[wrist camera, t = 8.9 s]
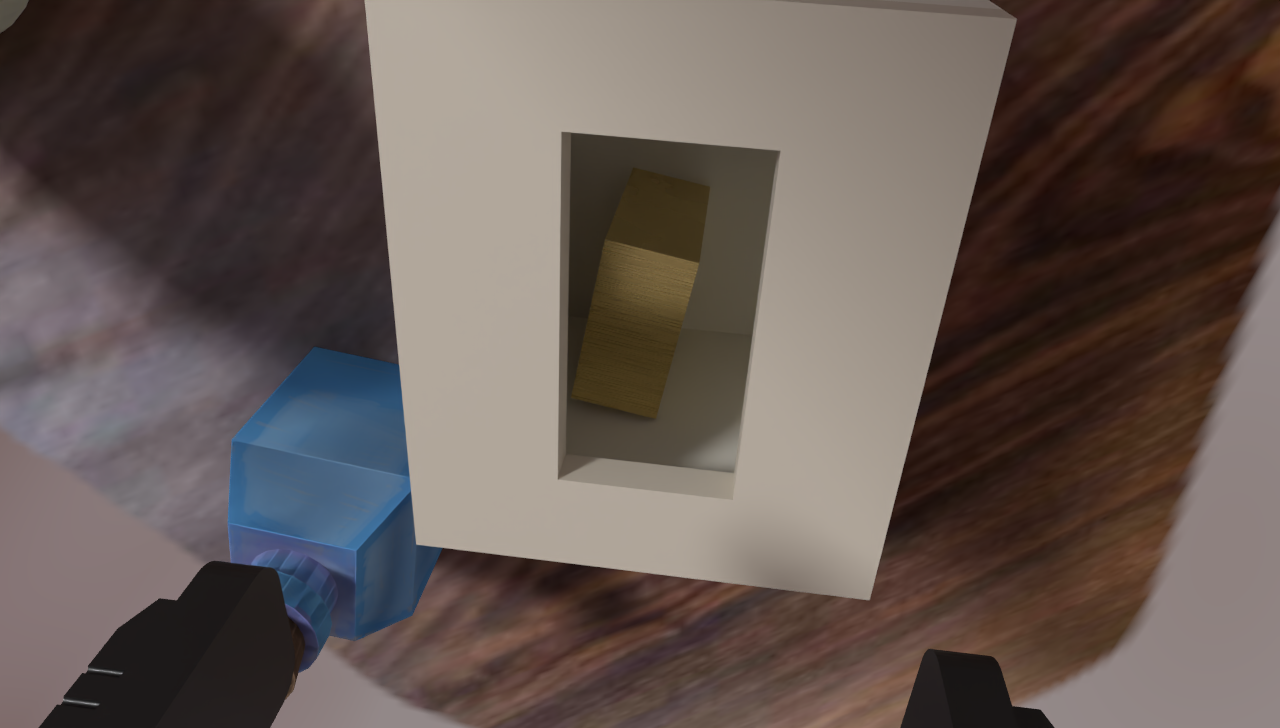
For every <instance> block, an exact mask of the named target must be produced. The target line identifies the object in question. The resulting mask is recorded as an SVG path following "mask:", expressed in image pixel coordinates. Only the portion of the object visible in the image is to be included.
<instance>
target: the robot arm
mask: <svg viewBox="0 0 1280 728" xmlns="http://www.w3.org/2000/svg"><path fill="white" fill-rule="evenodd" d="M294 665H295V650H294V644H293V640H292V635H291V630H290V625H289V621H288V616H287V611H286V606H285V601H284V597H283V592H282V587H281V582H280V578H279V575H278V573H277V571H276V570H275V569H273V568H271V567H263V566H254V565H246V564H238V563H229V562H221V561H211V562H209V563H207V564H206V565H205V566H203V567H202V568H201V569H200V571H199V572H198V573H197V574H196V576H195V577H194V578H193V580H192V581H191V582H190V584H189V585H188V586H187V588H186V589H185V590H184V592H183V593H182V594H181V596H180V597H179V598H178V600H177V601H175V600H168V599H158V600H157V601H155V602H154V603H153V604H151V605H150V606H148V607H147V608H146V609H145V610H143V611H141V612H140V613H139V614H137V615H136V616H135V617H133V618H132V619H130V620H129V621H128V622H126V623H125V624H123V625H122V626H121V627H119V628H118V629H117V630H116V631H115V633H114V634H113V635H112V636H111V638H110V639H109V640H108V642H107V643H106V644H105V645H104V647H103V648H102V649H101V651H99V653H98V654H97V655H96V657H95V658H94V659H93V660H92V662H91V663H90V664H89V665H88V671H87V672H86V673H85V674H84V673H82V674H81V675H80V677H79V678H78V679H77V681H76V682H75V683H74V684H73V685H72V687H71V688H70V689H69V690H68V692H67V693H66V694H65V695H64V700H63V702H62V704H61V705H56V707H55V708H54V709H53V710H52V712H51V713H50V714H49V716H48V717H47V718H46V719H45V720H44V722H43V723H42V724H41V725H40V727H39V728H270V727H271V725H272V723H273V721H274V719H275V718H276V716H277V713H278V712H279V710H280V708H281V706H282V705H283V702H284V700H285V698H286V696H287V694H288V691H289V688H290V685H291V681H292V677H293V672H294ZM901 728H1054V727H1053V725H1052V724H1051V723H1050V721H1049V720H1048V719H1047V718H1046V716H1045V715H1044V714H1043V712H1042V711H1041V710H1039V709H1031V708H1023V707H1015V706H1012V704H1011V701H1010V698H1009V694H1008V691H1007V688H1006V684H1005V681H1004V678H1003V674H1002V671H1001V668H1000V666H999V664H998V662H997V661H996V659H995V658H993V657H991V656H984V655H976V654H968V653H959V652H951V651H943V650H934V649H928V650H927V651H926V652H925V654H924V656H923V658H922V661H921V664H920V668H919V671H918V674H917V677H916V680H915V683H914V687H913V690H912V693H911V696H910V699H909V702H908V705H907V709H906V712H905V715H904V718H903V721H902V724H901Z"/></svg>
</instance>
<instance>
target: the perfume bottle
mask: <svg viewBox="0 0 1280 728" xmlns="http://www.w3.org/2000/svg"><path fill="white" fill-rule="evenodd" d="M228 532H229V544H230V556H231V563H238V564H246V565H254V566H263V567H271V568H273V569H275V570H276V571H277V573H278V575H279V578H280V582H281V587H282V592H283V597H284V601H285V606H286V611H287V616H288V621H289V625H290V630H291V635H292V640H293V644H294V650H295V665H294V672H293V677H292V681H291V685H290V688H289V691H288V694H287V696H286V698H287V697H288V696H289V695H290V694H291V693H292V691H293V690H294V686H295V682H296V679H297V676H298V673H299V672H302V671H304V670H306V669H308V668H309V667H310V666H311V665H312V663H313V662H314V661H315V660H316V659H317V657H318V655H319V653H320V651H321V649H322V648H323V646H324V644H325V642H326V640H327V638H328V637H329V636H334V637H338V638H343V639H347V640H352V641H356V640H358V639H361V638H363V637H365V636H367V635H370V634H372V633H374V632H376V631H379V630H381V629H383V628H385V627H388V626H390V625H392V624H394V623H396V622H399V621H401V620H403V619H405V618H408V617H410V616H412V615H413V613H414V610H415V608H416V606H417V604H418V601H419V599H420V597H421V595H422V593H423V590H424V588H425V586H426V584H427V582H428V579H429V577H430V575H431V573H432V570H433V568H434V566H435V564H436V562H437V559H438V557H439V555H440V553H441V551H442V548H441V547H432V546H424V545H416V537H415V527H414V516H413V505H412V495H411V484H410V474H409V463H408V452H407V442H406V431H405V421H404V410H403V400H402V389H401V378H400V368H399V365H398V364H394V363H389V362H384V361H379V360H375V359H370V358H365V357H361V356H356V355H351V354H347V353H342V352H337V351H333V350H328V349H323V348H319V347H314V348H313V349H312V350H311V351H310V352H309V353H308V354H307V356H306V357H305V358H304V359H303V360H302V361H301V362H300V363H299V365H298V366H297V367H296V368H295V369H294V370H293V371H292V372H291V373H290V375H289V376H288V377H287V378H286V379H285V380H284V381H283V382H282V384H281V385H280V386H279V387H278V388H277V389H276V390H275V391H274V393H273V394H272V395H271V396H270V397H269V398H268V399H267V400H266V402H265V403H264V404H263V405H262V406H261V407H260V408H259V409H258V410H257V412H256V413H255V414H254V415H253V416H252V417H251V418H250V419H249V421H248V422H247V423H246V424H245V425H244V426H243V427H242V428H241V430H240V431H239V432H238V433H237V434H236V435H235V436H234V437H233V439H232V446H231V466H230V487H229V508H228ZM286 698H285V699H286Z"/></svg>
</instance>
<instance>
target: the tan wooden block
mask: <svg viewBox="0 0 1280 728" xmlns="http://www.w3.org/2000/svg"><path fill="white" fill-rule="evenodd" d="M709 193H710V187H709V186H705V185H701V184H697V183H693V182H689V181H685V180H681V179H677V178H673V177H670V176H666V175H662V174H658V173H654V172H650V171H646V170H642V169H638V168H634V167H633V169H632V172H631V174H630V177H629V180H628V182H627V185H626V187H625V190H624V192H623V195H622V197H621V200H620V202H619V205H618V208H617V210H616V213H615V215H614V218H613V220H612V223H611V225H610V228H609V230H608V233H607V235H606V238H605V242H604V246H603V251H602V256H601V260H600V265H599V269H598V274H597V279H596V283H595V288H594V293H593V297H592V302H591V307H590V311H589V316H588V321H587V325H586V330H585V335H584V339H583V344H582V348H581V353H580V358H579V362H578V367H577V372H576V376H575V381H574V386H573V390H572V395H571V398H574V399H578V400H582V401H586V402H590V403H594V404H598V405H602V406H606V407H610V408H614V409H618V410H622V411H626V412H630V413H634V414H638V415H642V416H646V417H650V418H654V419H656V417H657V413H658V410H659V406H660V403H661V399H662V395H663V392H664V388H665V385H666V381H667V377H668V374H669V370H670V367H671V363H672V360H673V356H674V352H675V349H676V345H677V342H678V338H679V334H680V331H681V327H682V324H683V320H684V316H685V313H686V309H687V306H688V302H689V299H690V295H691V291H692V288H693V284H694V281H695V277H696V273H697V270H698V266H699V262H700V255H701V249H702V242H703V235H704V228H705V221H706V214H707V207H708V200H709Z"/></svg>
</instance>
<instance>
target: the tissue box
mask: <svg viewBox="0 0 1280 728" xmlns="http://www.w3.org/2000/svg"><path fill="white" fill-rule="evenodd" d="M365 8H366V18H367V29H368V40H369V50H370V61H371V71H372V82H373V93H374V103H375V114H376V124H377V135H378V146H379V156H380V167H381V177H382V188H383V198H384V209H385V220H386V230H387V241H388V251H389V262H390V273H391V283H392V294H393V304H394V315H395V325H396V336H397V347H398V357H399V368H400V378H401V389H402V400H403V410H404V421H405V431H406V442H407V452H408V463H409V474H410V484H411V495H412V505H413V516H414V527H415V537H416V545H424V546H432V547H441V548H449V549H457V550H465V551H473V552H481V553H489V554H498V555H506V556H514V557H522V558H530V559H538V560H546V561H555V562H563V563H571V564H579V565H587V566H595V567H603V568H612V569H620V570H628V571H636V572H644V573H652V574H660V575H669V576H677V577H685V578H693V579H701V580H709V581H718V582H726V583H734V584H742V585H750V586H758V587H766V588H775V589H783V590H791V591H799V592H807V593H815V594H823V595H832V596H840V597H848V598H856V599H864V600H870V596H871V592H872V588H873V584H874V581H875V577H876V573H877V569H878V565H879V561H880V557H881V553H882V549H883V545H884V541H885V537H886V533H887V529H888V525H889V521H890V518H891V514H892V510H893V506H894V502H895V498H896V494H897V490H898V486H899V482H900V478H901V474H902V470H903V466H904V462H905V458H906V455H907V451H908V447H909V443H910V439H911V435H912V431H913V427H914V423H915V419H916V415H917V411H918V407H919V403H920V399H921V395H922V391H923V388H924V384H925V380H926V376H927V372H928V368H929V364H930V360H931V356H932V352H933V348H934V344H935V340H936V336H937V332H938V328H939V325H940V321H941V317H942V313H943V309H944V305H945V301H946V297H947V293H948V289H949V285H950V281H951V277H952V273H953V269H954V265H955V261H956V258H957V254H958V250H959V246H960V242H961V238H962V234H963V230H964V226H965V222H966V218H967V214H968V210H969V206H970V202H971V198H972V195H973V191H974V187H975V183H976V179H977V175H978V171H979V167H980V163H981V159H982V155H983V151H984V147H985V143H986V139H987V135H988V131H989V128H990V124H991V120H992V116H993V112H994V108H995V104H996V100H997V96H998V92H999V88H1000V84H1001V80H1002V76H1003V72H1004V68H1005V65H1006V61H1007V57H1008V53H1009V49H1010V45H1011V41H1012V37H1013V33H1014V29H1015V25H1016V21H1017V19H1016V18H1015V17H1013V16H1012V15H1010V14H1009V13H1007V12H1006V11H1004V10H1003V9H1001V8H1000V7H998V6H997V5H995V4H994V3H992V2H991V1H989V0H365ZM633 167H634V168H638V169H642V170H646V171H650V172H654V173H658V174H662V175H666V176H670V177H673V178H677V179H681V180H685V181H689V182H693V183H697V184H701V185H705V186H709V187H710V193H709V200H708V207H707V214H706V221H705V228H704V235H703V242H702V249H701V255H700V262H699V266H698V270H697V273H696V277H695V281H694V284H693V288H692V291H691V295H690V299H689V302H688V306H687V309H686V313H685V316H684V320H683V324H682V327H681V331H680V334H679V338H678V342H677V345H676V349H675V352H674V356H673V360H672V363H671V367H670V370H669V374H668V377H667V381H666V385H665V388H664V392H663V395H662V399H661V403H660V406H659V410H658V413H657V417H656V419H654V418H650V417H646V416H642V415H638V414H634V413H630V412H626V411H622V410H618V409H614V408H610V407H606V406H602V405H598V404H594V403H590V402H586V401H582V400H578V399H574V398H571V395H572V390H573V386H574V381H575V376H576V372H577V367H578V362H579V358H580V353H581V348H582V344H583V339H584V335H585V330H586V325H587V321H588V316H589V311H590V307H591V302H592V297H593V293H594V288H595V283H596V279H597V274H598V269H599V265H600V260H601V256H602V251H603V246H604V242H605V238H606V235H607V233H608V230H609V228H610V225H611V223H612V220H613V218H614V215H615V213H616V210H617V208H618V205H619V202H620V200H621V197H622V195H623V192H624V190H625V187H626V185H627V182H628V180H629V177H630V174H631V172H632V169H633Z"/></svg>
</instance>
